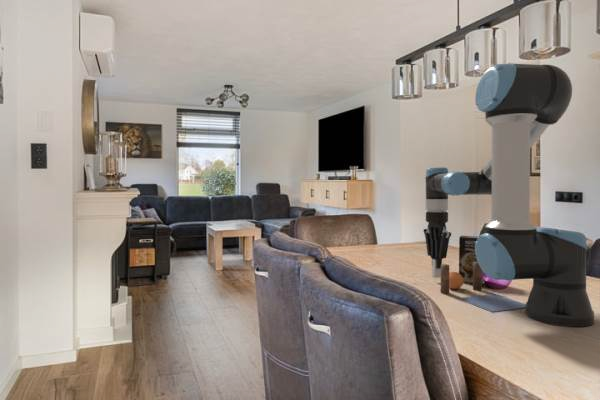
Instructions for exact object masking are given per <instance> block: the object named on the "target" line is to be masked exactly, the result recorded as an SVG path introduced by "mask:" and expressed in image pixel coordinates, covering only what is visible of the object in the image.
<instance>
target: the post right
mask: <svg viewBox="0 0 600 400" xmlns="http://www.w3.org/2000/svg"><path fill="white" fill-rule="evenodd" d="M482 285H483V284H482V269H481V267H480V266H479V264H478V262H473V283H472V289H473V291H482Z"/></svg>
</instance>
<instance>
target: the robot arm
mask: <svg viewBox="0 0 600 400" xmlns="http://www.w3.org/2000/svg"><path fill="white" fill-rule="evenodd" d="M572 94H573V85H572V81H571V78H570V76H568V73H567V72H566V71H564V70H563V69H562V68H560V67H558V66H556V65H553V64H530V63H528V64H527V63H514V62H513V63H512V62H509V63H497V64H494V65H491V66H490V67H488V69H486V71H485V72H483V74H482V75H481V78H480V79H479V81H478V84H477V87H476V91H475V96H474V97H475V98H474V99H475V105H476V106H477V107H476V108H477V109H478V110H479V111H481V112H482V113H484V114H485V119H484V120H485V122H486V123H487V124H488V125H489V126H491V157H490V158H489V159H488V161H487V162H486V164H485V165H484V167H482V169H480V171H450V172H449V169H448V168H447V167H443V166H442V167H441V166H440V167H428V168H427V169H426V170H425V172H426V173H425V178H424V179H425V210H426V212H425V221H426V222H427V223H428V224H427V227H426V228H425V229H424V228H423V234H424V236H425V237H424V238H425V245H426V251H427V256H429V257H430V258H431V267H432V269H431V270H432V271H431V273H432V274H431V276H432V278H434V279H436V278H441V264H443V260H444V259H447V256H448V255H447V254H448V250H449V243H450V238H451V236H452V232H451V231H448V230H447V226H446V223H448V222H449V212H448V210H449V196H453V197H454V196H465V195H466V196H467V195H468V196H469V195H474V196H475V195H477V196H478V195H479V196H480V195H481V196H482V195H484V196H485V195H486V196H487V195H489V196H490V195H491V219H490V221H488V222H487V223H486V225H484V233H482V234H480V235H479V236H477V237H478V238H477V241H476V243H475V254H476V258H477V261H478V264H479V266H480V267H481V269H482V271H483V272H484V273H485V274H486V275H487V278H490V279H492V280H497V281H502V280H504V281H506V282H507V281H513V280H515V281H517V280H533V281H532V287H531V290H530V291H529V295H528V298H527V301H526V302H525V304H526V305H525V308H524V309H525V310H524V311H525V315H526V316H527V317H528V318H531V319H533V320H536V321H539V322H541V323H547V324H550V325H554V326H555V325H556V326H563V327H573V328H574V327H576V328H577V327H579V328H580V327H588V326H591V325H594V324H595V312H594V310H593V307H592V305H591V301H590V298H589V295H588V292H587V268H588V267H587V266H588V265H587V264H588V260H587V259H588V250H589V249H588V247H587V246H588V245H587V244H588V243H587V237H586V235H585V234H584V233H583V232H580V231H574V230H568V229H567V230H566V229H558V228H552V227H551V228H549V227H542V226H536V225H534V224H533V222H532V221H531V220H530V208H531V207H530V203H531V202H530V201H531V200H530V199H531V197H530V195H531V193H530V191H531V189H530V188H531V186H530V185H531V183H530V182H531V181H530V180H531V179H530V176H531V171H530V170H531V148H532V147H533V146H534V145H535V144H536V142H537V141H538V139H540V137H541V136H542V135H543V134H544V133H545V131H546V130H547V129H548V127H549V126H551V125H555V124H558V122H559V121H560V119H561V118H562V117H563V116H564V114H565V112H566V111H567V109H568V107H569V106H570V103H571V100H572V96H573V95H572Z"/></svg>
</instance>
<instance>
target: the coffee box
mask: <svg viewBox="0 0 600 400" xmlns="http://www.w3.org/2000/svg"><path fill="white" fill-rule="evenodd" d="M478 237H479V236H475V235H460V236H459V241H458V244H459V245H458V246H459V248H458V273H459V274H460V275H461V276H462V277H463V280H464V282H463V283H469V284H470V283H471V284H473V262H478V261H477V258H476V254H475V243H476V241H477V238H478ZM482 285H485V284H484V283H483V280H482Z"/></svg>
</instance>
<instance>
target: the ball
mask: <svg viewBox="0 0 600 400" xmlns="http://www.w3.org/2000/svg"><path fill="white" fill-rule="evenodd" d="M464 283H465V282H464V280H463V277H462V276H461V275H460V274H459V272H455V271H453V272H449V289H452V290H457V289H461V287H463V284H464Z"/></svg>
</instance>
